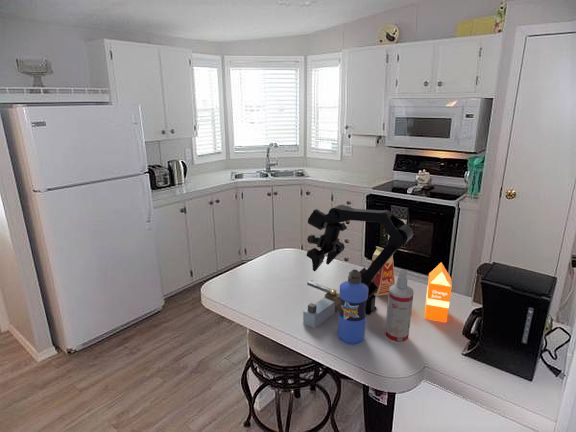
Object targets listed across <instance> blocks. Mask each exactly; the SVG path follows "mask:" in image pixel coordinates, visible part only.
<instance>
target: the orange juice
mask: <svg viewBox="0 0 576 432" xmlns="http://www.w3.org/2000/svg"><path fill="white" fill-rule="evenodd" d="M427 281H428V282H427V288H426V297H425V304H424V305H425V306H424V319H425V320H430V321H436V322H441V323H447V321H448V314H449V309H450V303H451V302H450V301H451V294H452V289H453V288H452V278H451V276H450V274H449V273H448V271H447V269H446V268H445V265H444V264H443V263H442V262H440V263H438V265H436V267H435V268H433V270H431V271H430V272H429V273H428V280H427Z"/></svg>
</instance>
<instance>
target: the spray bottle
mask: <svg viewBox="0 0 576 432" xmlns="http://www.w3.org/2000/svg"><path fill="white" fill-rule="evenodd" d="M407 275H408V272H407V270H405V269H401V270H399V273H398V278H397V281H396V283H395V285H392V286H390V287H389V294H388V299H387V309H386V310H387V311H386V320H385V331H384V337H385V340H387V341H388V342H389V343H392V344H396V345H403V344H404V345H405V344H406V343H407V342H408V341H409V335H410V328H411V319H412V312H413V311H412V309H413V301H414V300H413V299H414V293H415V292H414V289H413V288H412V287H410V286H409V285H408V278H407V277H408V276H407Z"/></svg>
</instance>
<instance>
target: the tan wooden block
mask: <svg viewBox="0 0 576 432" xmlns="http://www.w3.org/2000/svg"><path fill="white" fill-rule="evenodd" d="M324 297H325V298H327V299H330V300H332V301H335V313H337V312H339V311H340V306H341V305H340V296H339V293H337V292H336V296H331V295H330V294H329V293H327V292H326V293H325V294H324ZM335 313H334V314H335Z"/></svg>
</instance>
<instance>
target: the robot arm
mask: <svg viewBox="0 0 576 432" xmlns="http://www.w3.org/2000/svg"><path fill="white" fill-rule="evenodd" d="M350 221H355V222H366V223H367V222H369V223H380V224H381V225H382V226H383V228H384V230H385V233H386V234H387V235H388V236H389V237H388V240H387V243H386V245H385V246H384V247H383V248H384V249H383V250H382V251H381V253H380V254H379V255H378V256H377V258H376V259H375V260H374V261H373V263H372V264H371V263H370V265H369V267H368V268H367V269H366V267H365V266H364V267H362V268H361V270H360V271H359V270H358V271H359V272H360V273H361V275H360V276H361V282H362V283H364V284H365V285H367V286H368V299H367V302H366V306H365V313H366V316H367V315H369V316H370V315H371V314H372V313H373V312H375V310H377V309H378V308H377V306H376V297H377V296H376V295H375V293H376V292H377V290H378V287H377V286H376V284H375V283H374V280H375V278H376V275H377V273H378V272H379V271H380V270H381V268H382V267H383V266H384V265H385V264H386V262H387V261H388V260H389V259H390V257H391V256H392V255H393V256H394V254H395V253H396V252H397V251H398V250H399V249H401V248H402V247H403V246H404V245H405V244H406V243H408V242H409V241H410V240H411V239H412V238H413V236H414V230H413V229H412V227H411V226H410V225H408V224H406V223H405V222H404V220H402V219H401V218H399V217H397V216H396V215H394V214H393V212H391V211H390V210H389V209H388V210H387V209H384V210H376V209H366V208H365V209H364V208H363V209H362V208H361V209H360V208H353V207H352V206H349V205H345V204H337V205H336V206H334V207H332V208H330V209H329V210H328V212H327V213H325V212H323V211H320V210H319V209H317V208H316V209H313V211H312V212H311V214H310V215H309V217H308V219H307V224H308V225H309V226H312V227H314V228H316V229H317V230H319V231H323V230H324V233H323V234H322V233H317V232H316V233H312V234H311V233H310V234H309V235H308V237H307V238H306V240H307V243H308V244H313V245H316V247H313V248H311V249H309V250H307V252H306V257H308V258H309V259H311V263H312V271H313V272H317V270H318V269H319V268H320V266H321V265H322V264H323V263H324V259H325V257H326V261H325V263H326V265H330V264H331V263H332V262H333V261H334V260H335V259H336V258H337V257H338V256H339V255H340V254H341V253H342V252H344V250H345V248H346V247H345V243H343V242H341V240H340V238H339V237H340V236H339V235H340V232H344V231H345V230H347V229H348V227H347V225H346V224H345V222H350ZM318 248H319V249H318ZM325 255H327V256H325Z"/></svg>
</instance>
